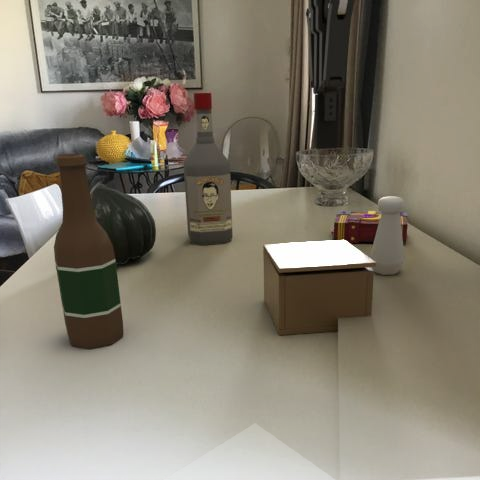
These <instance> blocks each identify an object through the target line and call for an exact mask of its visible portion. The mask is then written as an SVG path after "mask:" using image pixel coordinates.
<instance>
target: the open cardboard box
mask: <svg viewBox="0 0 480 480" xmlns="http://www.w3.org/2000/svg"><path fill="white" fill-rule="evenodd" d="M262 254H263V259H262V260H263V301H264V304H265V306H266V308H267V310H268V313H269V315H270V317H271V320H272V322H273V324H274V327H275V329H276V332H277V334H278V336H289V335H290V336H291V335H302V334H319V333H329V332H330V333H331V332H339V319H345V318H357V317H358V318H359V317H371V316H372V311H373V310H372V308H373V294H374V293H373V292H374V277H375V271H374V268H373V267H365V268H349V269H333V270H317V271H301V272H285V273H279V271H278V270H277V268H276V267H275V265H274V264H273V262H272V261H271V259H270V258H269V256H268V255H267V253H266V252H265V250H264V249H263V253H262Z"/></svg>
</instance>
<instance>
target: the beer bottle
mask: <svg viewBox="0 0 480 480" xmlns="http://www.w3.org/2000/svg"><path fill="white" fill-rule="evenodd" d="M87 165H88V161H87V159H86V156H85V155H83V154H81V153H67V154H66V153H65V154H59V155H58V156H56V161H55V166H57V168H58V172H59V183H60V194H61V206H62V221H61V224H60V226H59V228H58V231H57V232H56V235H55V239H54V244H53V252H54V263H55V270H56V275H57V282H58V287H59V288H58V289H59V295H60V300H61V306H62V313H63V317H64V318H63V320H64V325H65V330H66V333H67V337H68V341H69V343H70V345H71V346H72V347H76V348H81V349H87V350H92V349H97V348H102V347H107V346H108V347H109V346H112V345H113V344H115V343H116V342H118V340H120V339H122V338H123V336H124V335H125V334H124V333H125V332H124V320H123V311H122V304H121V303H122V302H121V293H120V287H119V278H118V270H117V264H116V260H115V255H114V250H113V245H112V243H111V241H110V239H109V237H108V235H107V233H106V232H105V230H104V229H103V228H102V227H101V225H100V224H99V223H98V222H97V219H96V216H95V213H94V210H93V205H92V200H91V194H92V193H91V190H90V189H91V188H90V185H89V180H88V174H87V169H86V166H87Z"/></svg>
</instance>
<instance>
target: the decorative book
mask: <svg viewBox="0 0 480 480" xmlns="http://www.w3.org/2000/svg"><path fill="white" fill-rule="evenodd" d="M381 214H382V212H377V211H376V210H368V211H367V212H364V211H354V210H353V211H352V210H351V211H350V210H347V211H346V210H337V212H336V217H335V220H334V222H333V227H332V228H330V231H331V234H332V233H333V241H336V240H346V241H347V242H349V243H350V244H358V243H359V242H367V243H368V242H369V243H374V240H375V236H376V233H377V229H378V225H379V221H380V218H381ZM400 218H401V228H402V239H403V244H406V243H407V237H408V236H407V235H408V225H409V223H408V212H407V211H402V212H400Z"/></svg>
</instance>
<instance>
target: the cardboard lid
mask: <svg viewBox="0 0 480 480" xmlns="http://www.w3.org/2000/svg"><path fill="white" fill-rule="evenodd" d="M262 248H263V249H264V250H265V252H266V253H267V255H268V256H269V258H270V259H271V261H272V262H273V264H274V265H275V267H276V268H277V270H278V271H279V273H285V272H301V271H317V270H333V269H349V268H365V267H371V268H373V267H376V262H375V261H373V260H372V259H371V258H370V256H368V255H367V254H365V253H364V252H363V251H361V250H360V249H359V248H357V247H355V246H354V245H353V244H352V243H349V242H348V241H346V240H336V241H334V240H321V241H305V242H304V241H302V242H287V243H268V244H263V245H262Z"/></svg>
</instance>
